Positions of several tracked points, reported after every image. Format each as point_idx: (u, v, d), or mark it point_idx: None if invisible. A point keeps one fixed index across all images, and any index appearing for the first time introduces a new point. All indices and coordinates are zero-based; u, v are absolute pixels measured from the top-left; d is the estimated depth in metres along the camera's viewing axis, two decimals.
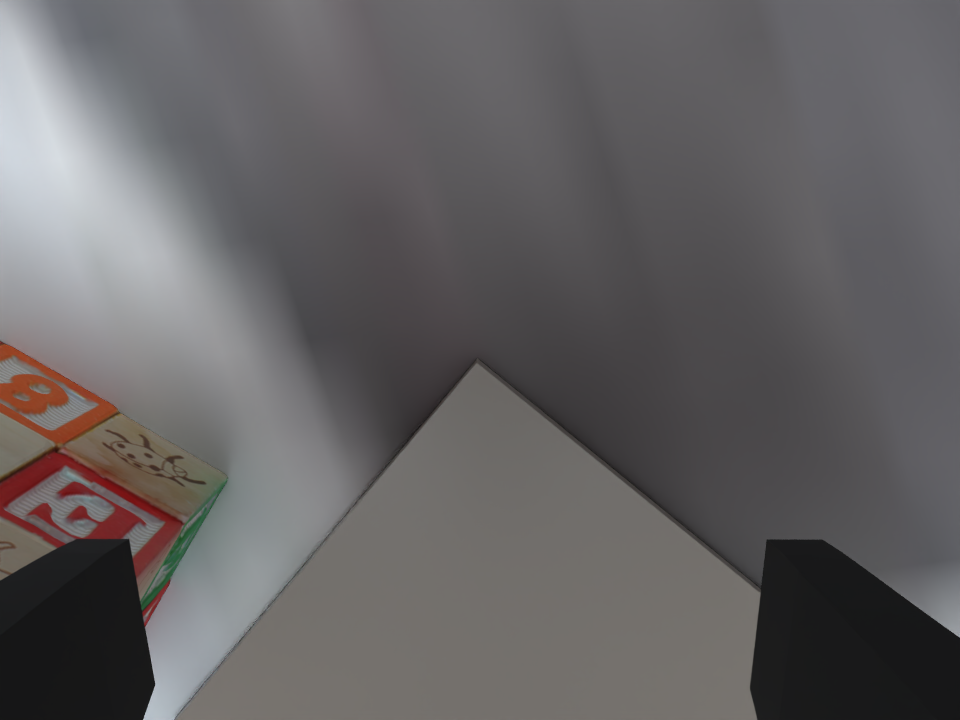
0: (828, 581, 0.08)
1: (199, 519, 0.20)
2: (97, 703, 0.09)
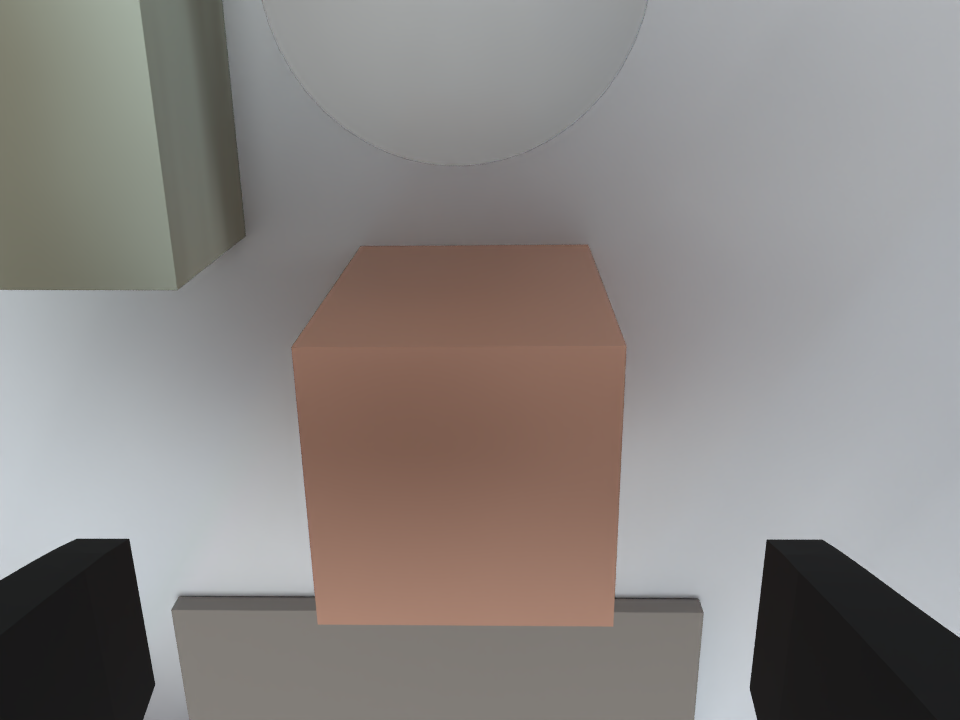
0: (828, 581, 0.08)
1: None
2: (97, 703, 0.09)
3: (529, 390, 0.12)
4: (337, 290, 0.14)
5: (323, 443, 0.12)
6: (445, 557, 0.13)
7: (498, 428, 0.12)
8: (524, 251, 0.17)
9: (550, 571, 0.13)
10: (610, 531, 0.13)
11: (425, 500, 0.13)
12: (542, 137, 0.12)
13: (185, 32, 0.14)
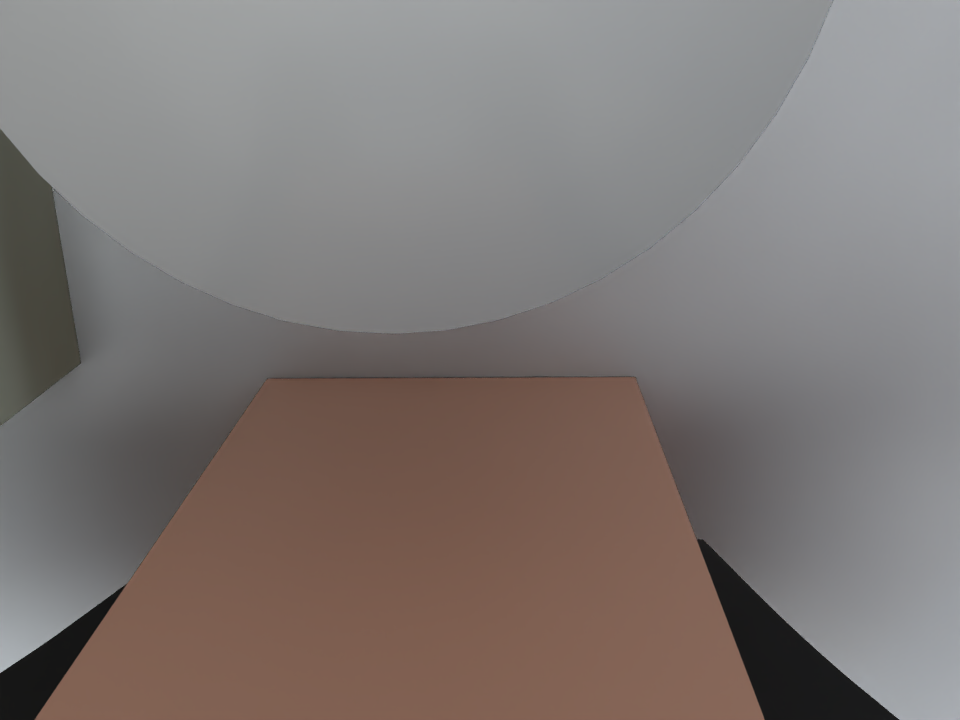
0: None
1: None
2: None
3: None
4: (187, 513, 0.08)
5: None
6: None
7: None
8: (532, 393, 0.10)
9: None
10: None
11: None
12: (583, 273, 0.05)
13: None
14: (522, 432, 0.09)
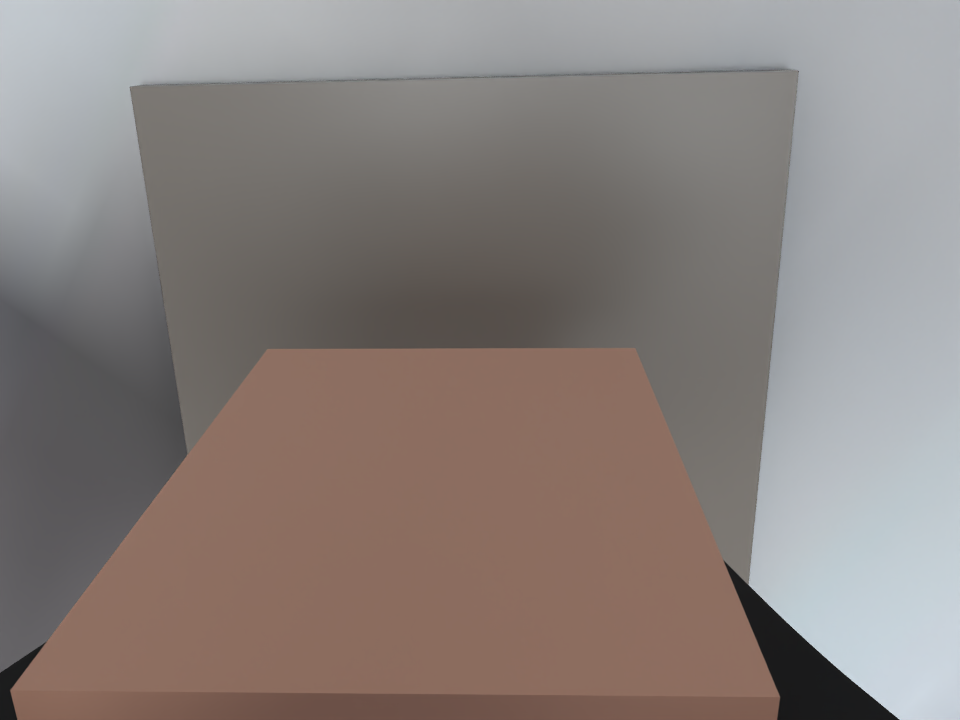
0: None
1: None
2: None
3: None
4: (189, 470, 0.08)
5: None
6: None
7: None
8: (532, 363, 0.10)
9: None
10: None
11: None
12: None
13: None
14: (522, 398, 0.09)
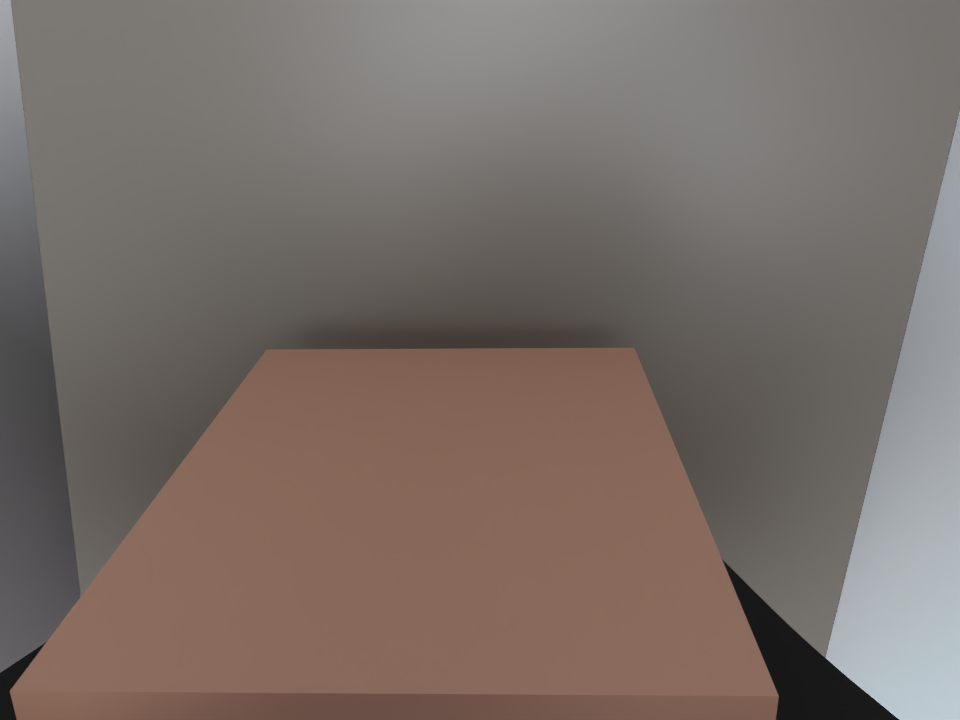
0: None
1: None
2: None
3: None
4: (188, 470, 0.08)
5: None
6: None
7: None
8: (531, 363, 0.10)
9: None
10: None
11: None
12: None
13: None
14: (521, 398, 0.09)
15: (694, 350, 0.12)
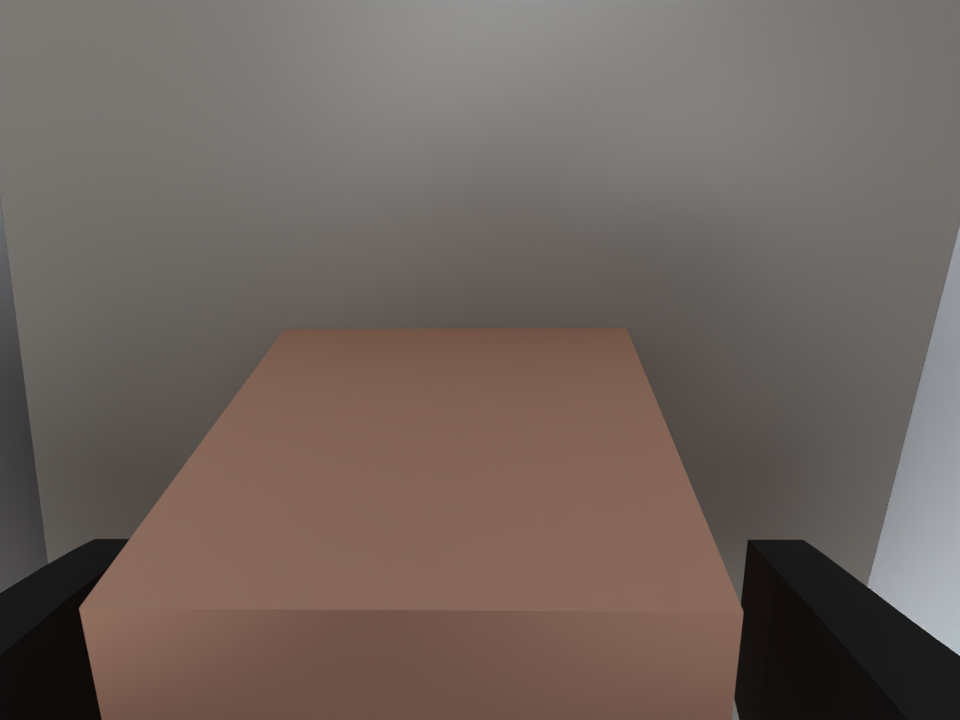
0: (806, 581, 0.08)
1: None
2: None
3: (550, 688, 0.06)
4: (219, 432, 0.09)
5: None
6: None
7: None
8: (531, 341, 0.11)
9: None
10: None
11: None
12: None
13: None
14: (521, 371, 0.10)
15: (702, 370, 0.12)
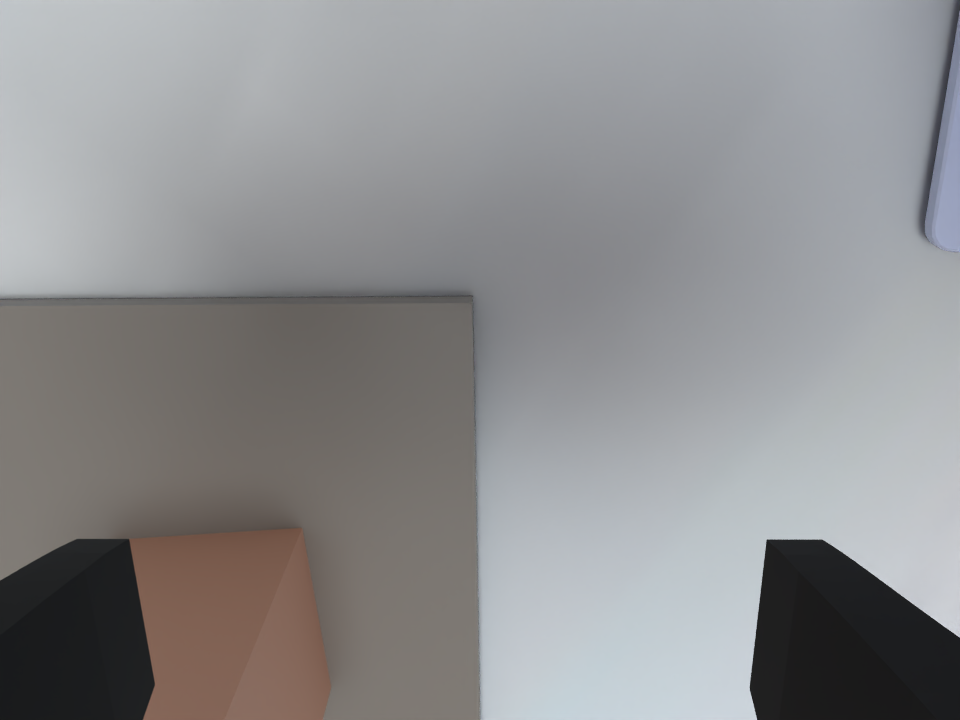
0: (828, 581, 0.08)
1: None
2: (97, 703, 0.09)
3: None
4: None
5: None
6: None
7: None
8: (241, 543, 0.20)
9: None
10: None
11: None
12: None
13: None
14: (220, 571, 0.19)
15: (351, 547, 0.20)
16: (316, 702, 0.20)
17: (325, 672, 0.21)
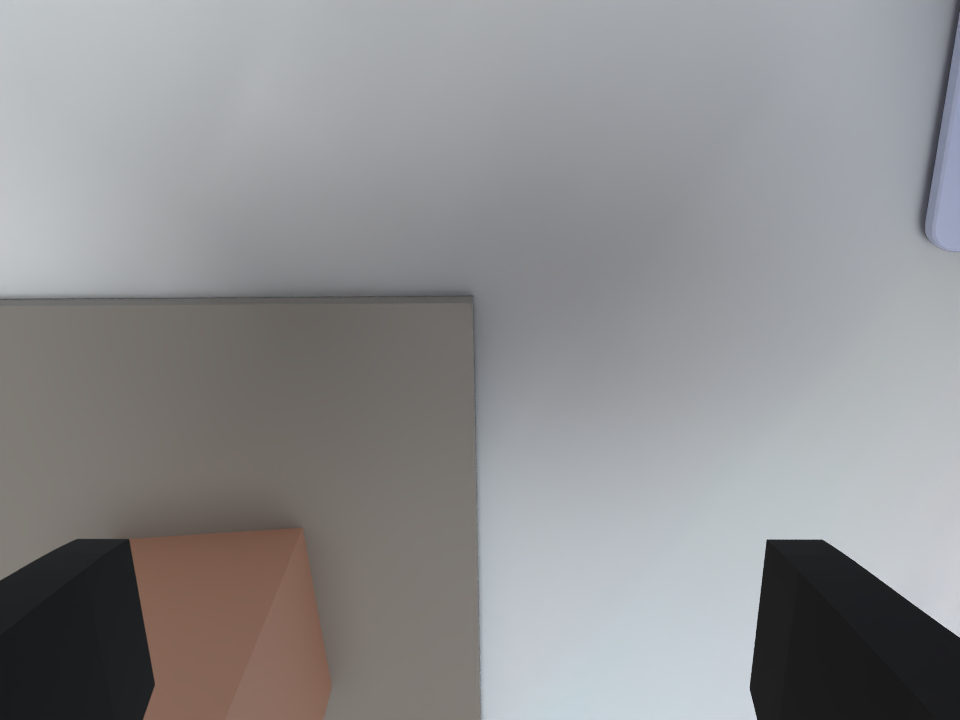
0: (828, 581, 0.08)
1: None
2: (97, 703, 0.09)
3: None
4: None
5: None
6: None
7: None
8: (241, 543, 0.20)
9: None
10: None
11: None
12: None
13: None
14: (221, 571, 0.19)
15: (351, 547, 0.20)
16: (317, 702, 0.20)
17: (326, 672, 0.21)
